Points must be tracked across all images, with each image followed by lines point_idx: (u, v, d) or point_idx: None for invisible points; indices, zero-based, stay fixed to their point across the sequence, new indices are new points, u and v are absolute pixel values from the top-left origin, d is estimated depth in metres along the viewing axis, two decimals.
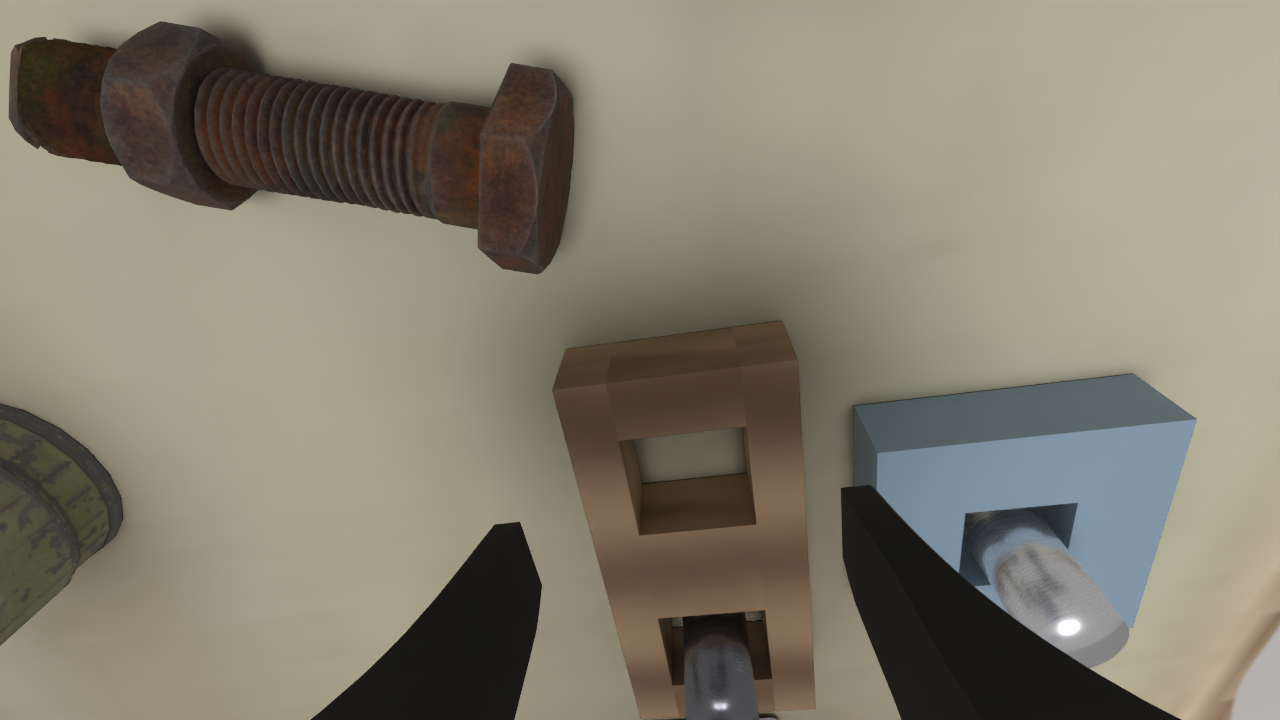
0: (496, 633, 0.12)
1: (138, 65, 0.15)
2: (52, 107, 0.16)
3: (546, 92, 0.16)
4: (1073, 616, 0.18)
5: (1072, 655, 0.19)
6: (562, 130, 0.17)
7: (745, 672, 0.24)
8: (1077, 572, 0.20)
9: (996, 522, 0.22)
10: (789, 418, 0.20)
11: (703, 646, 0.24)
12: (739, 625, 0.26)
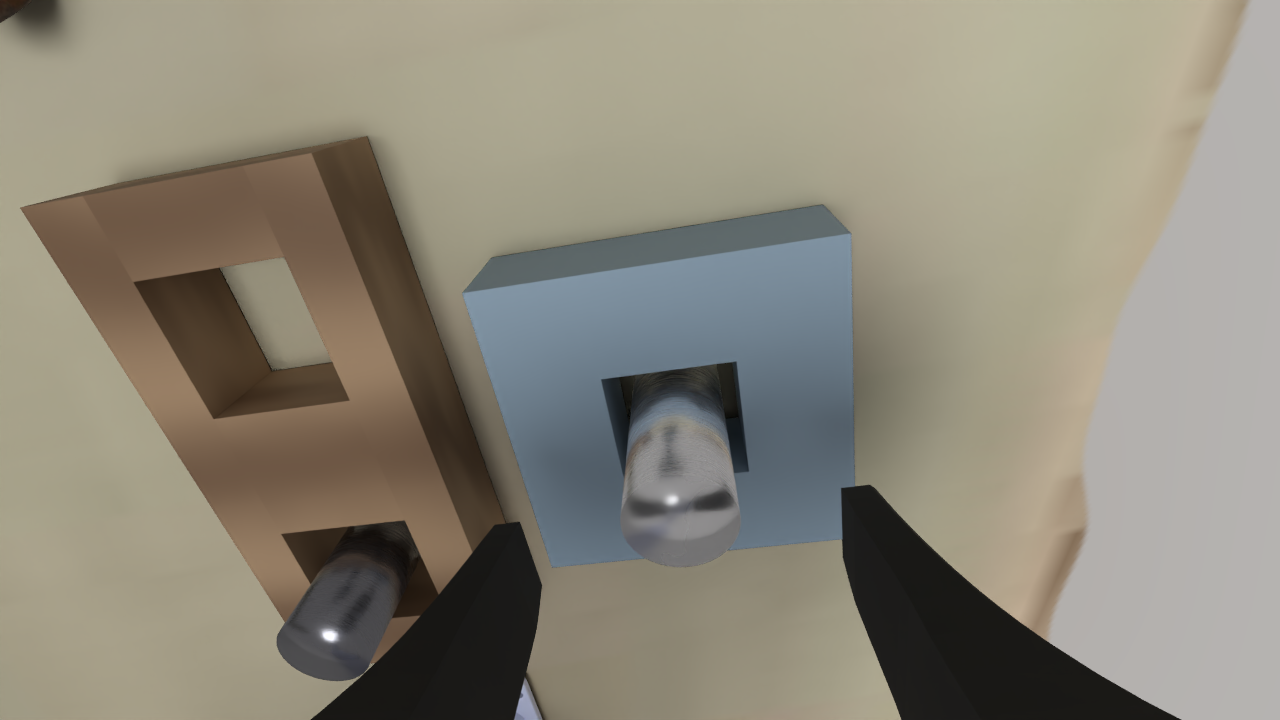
0: (496, 633, 0.12)
1: None
2: None
3: None
4: (656, 485, 0.14)
5: (679, 543, 0.14)
6: None
7: (365, 594, 0.19)
8: (697, 437, 0.15)
9: (647, 393, 0.17)
10: (334, 244, 0.15)
11: (328, 565, 0.20)
12: (392, 544, 0.21)
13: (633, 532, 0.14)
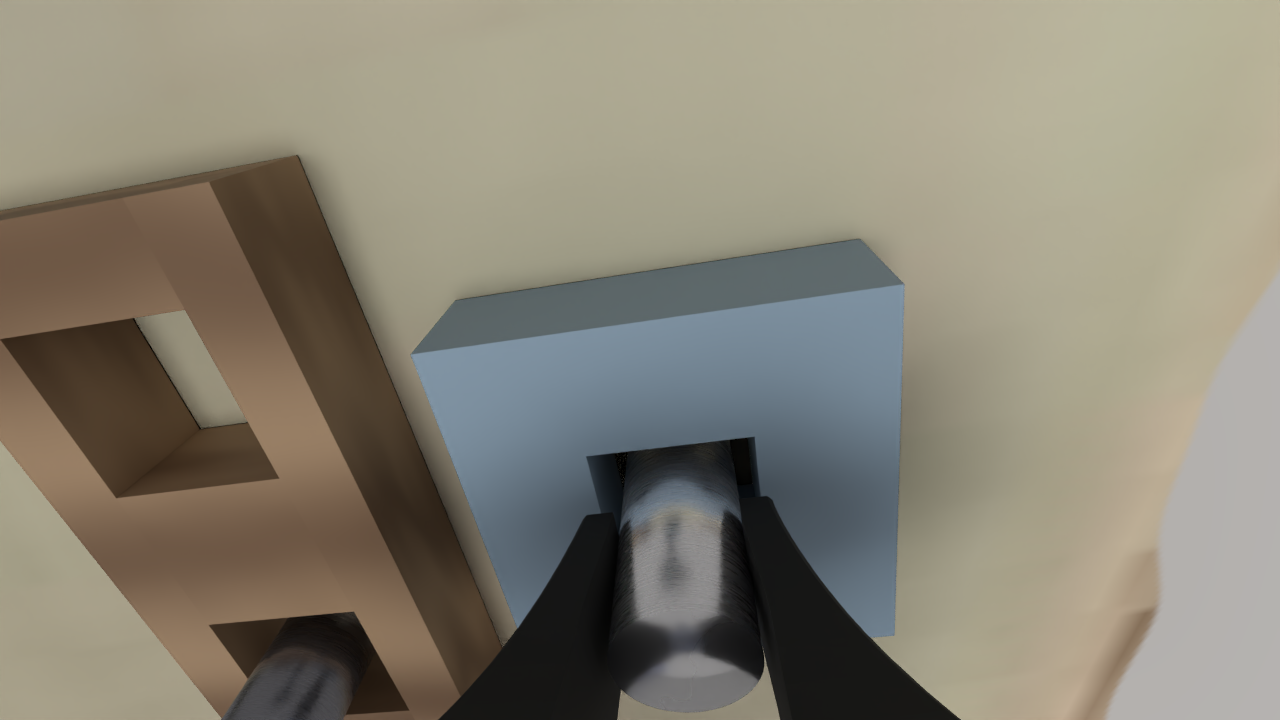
0: (603, 624, 0.11)
1: None
2: None
3: None
4: (652, 621, 0.10)
5: (684, 686, 0.11)
6: None
7: (304, 705, 0.16)
8: (707, 544, 0.12)
9: (643, 471, 0.14)
10: (246, 295, 0.12)
11: (262, 666, 0.16)
12: (343, 634, 0.18)
13: (624, 674, 0.11)
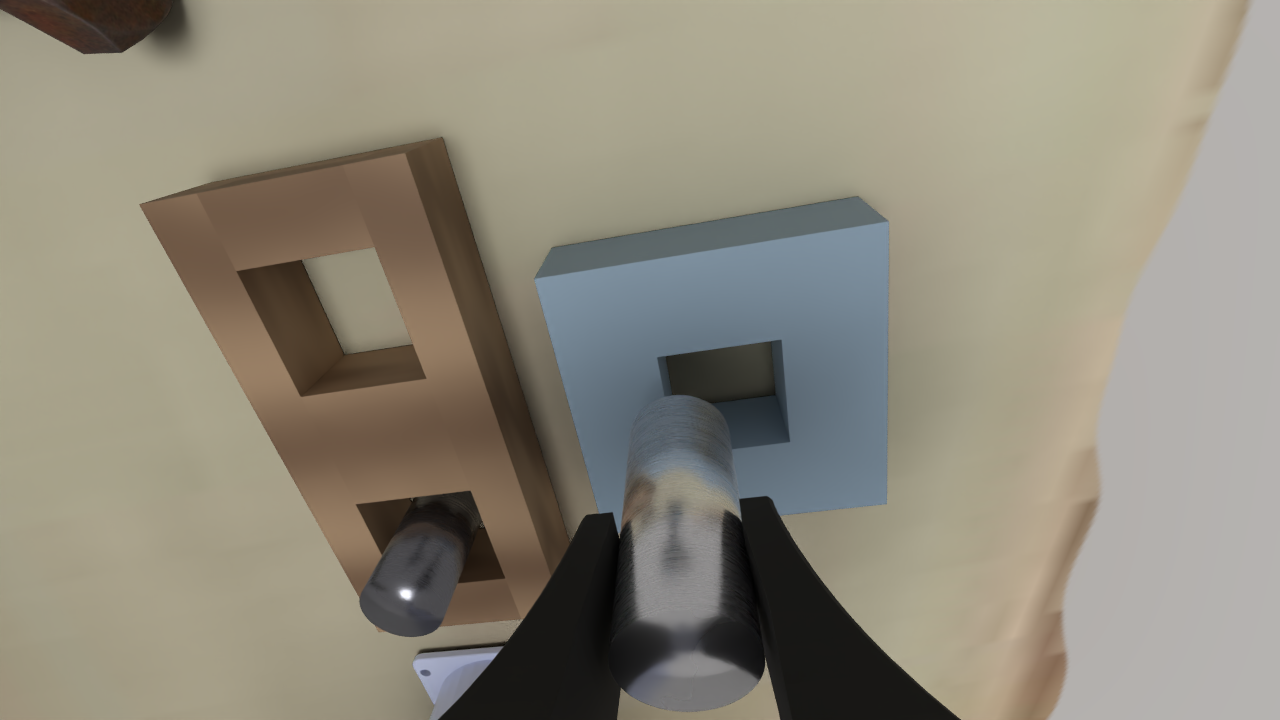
0: (603, 624, 0.11)
1: None
2: None
3: None
4: (654, 620, 0.10)
5: (685, 686, 0.11)
6: None
7: (437, 557, 0.21)
8: (707, 544, 0.12)
9: (643, 471, 0.14)
10: (420, 235, 0.17)
11: (401, 532, 0.21)
12: (456, 514, 0.23)
13: (625, 673, 0.11)
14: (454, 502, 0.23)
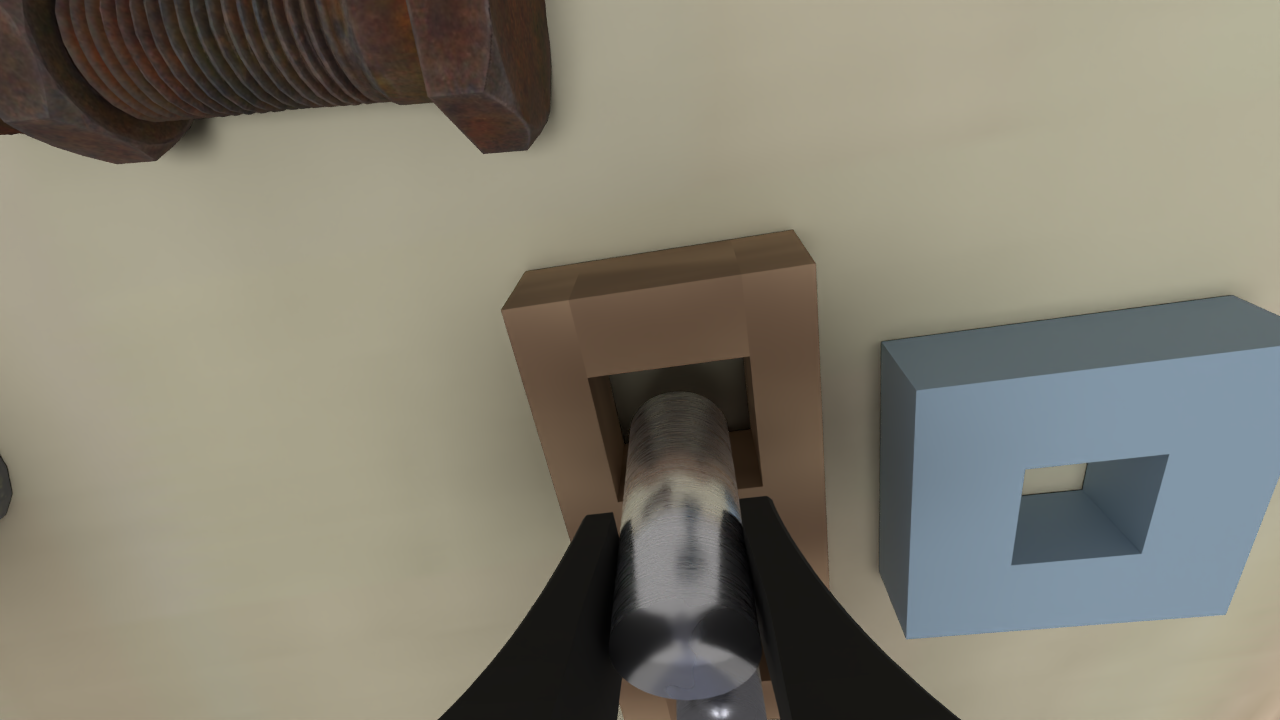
0: (603, 624, 0.11)
1: None
2: None
3: None
4: (647, 611, 0.11)
5: (687, 674, 0.11)
6: None
7: None
8: (700, 534, 0.12)
9: (640, 468, 0.14)
10: (804, 345, 0.16)
11: None
12: None
13: (627, 665, 0.11)
14: None
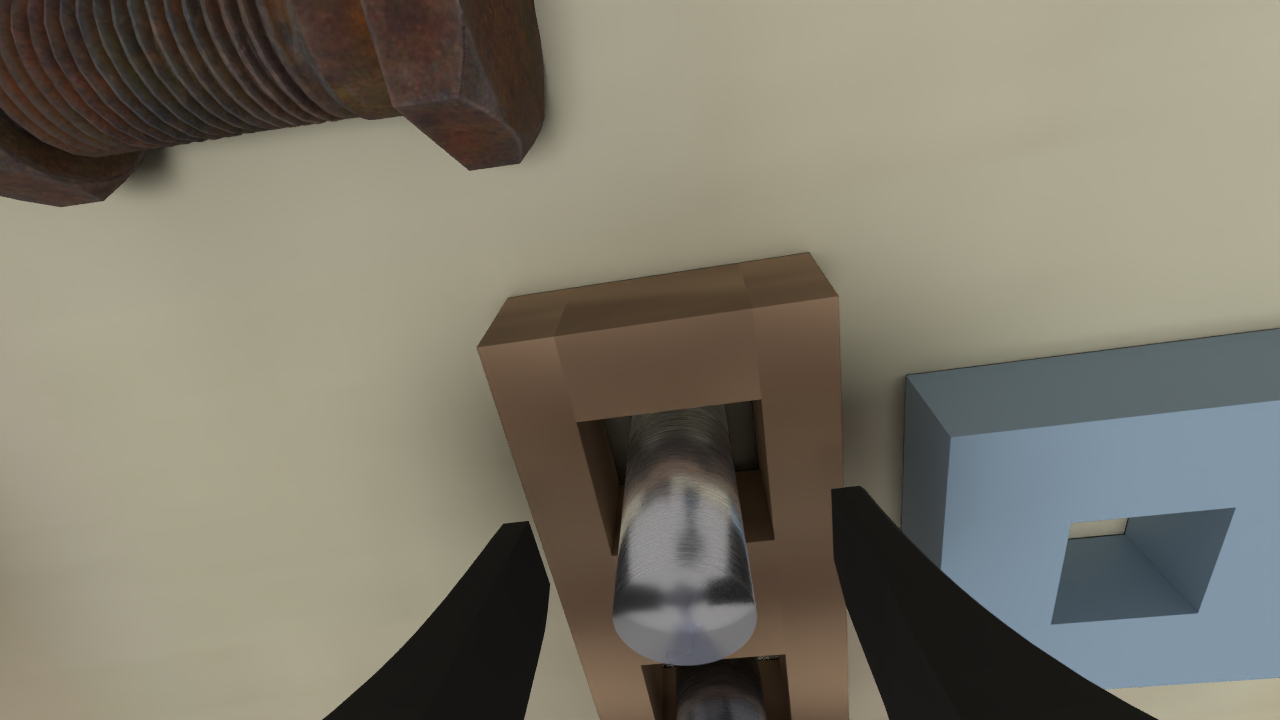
0: (507, 632, 0.12)
1: None
2: None
3: None
4: (649, 578, 0.11)
5: (686, 640, 0.12)
6: None
7: None
8: (699, 509, 0.12)
9: (641, 449, 0.15)
10: (824, 387, 0.14)
11: (702, 703, 0.18)
12: (750, 672, 0.19)
13: (629, 631, 0.12)
14: None
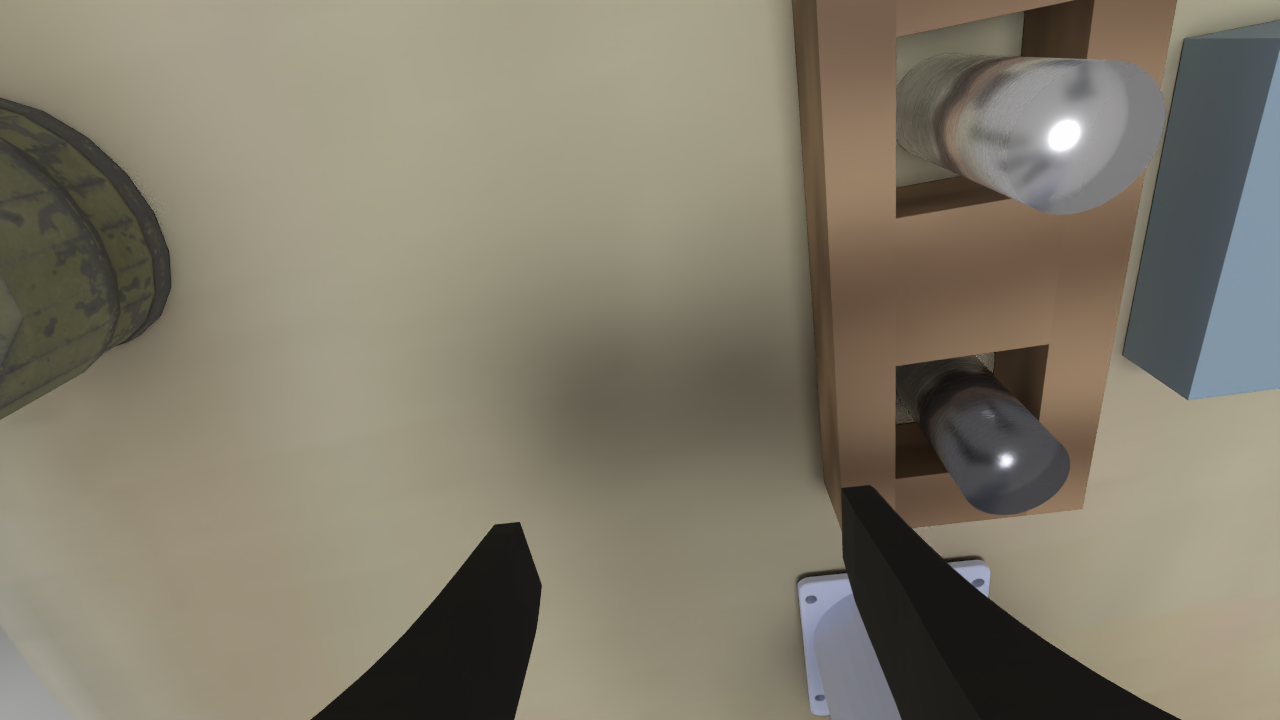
0: (496, 633, 0.12)
1: None
2: None
3: None
4: (1065, 81, 0.11)
5: (1076, 176, 0.12)
6: None
7: None
8: (1073, 59, 0.12)
9: (952, 75, 0.15)
10: None
11: (965, 395, 0.18)
12: (998, 381, 0.19)
13: (1021, 164, 0.12)
14: (986, 369, 0.19)
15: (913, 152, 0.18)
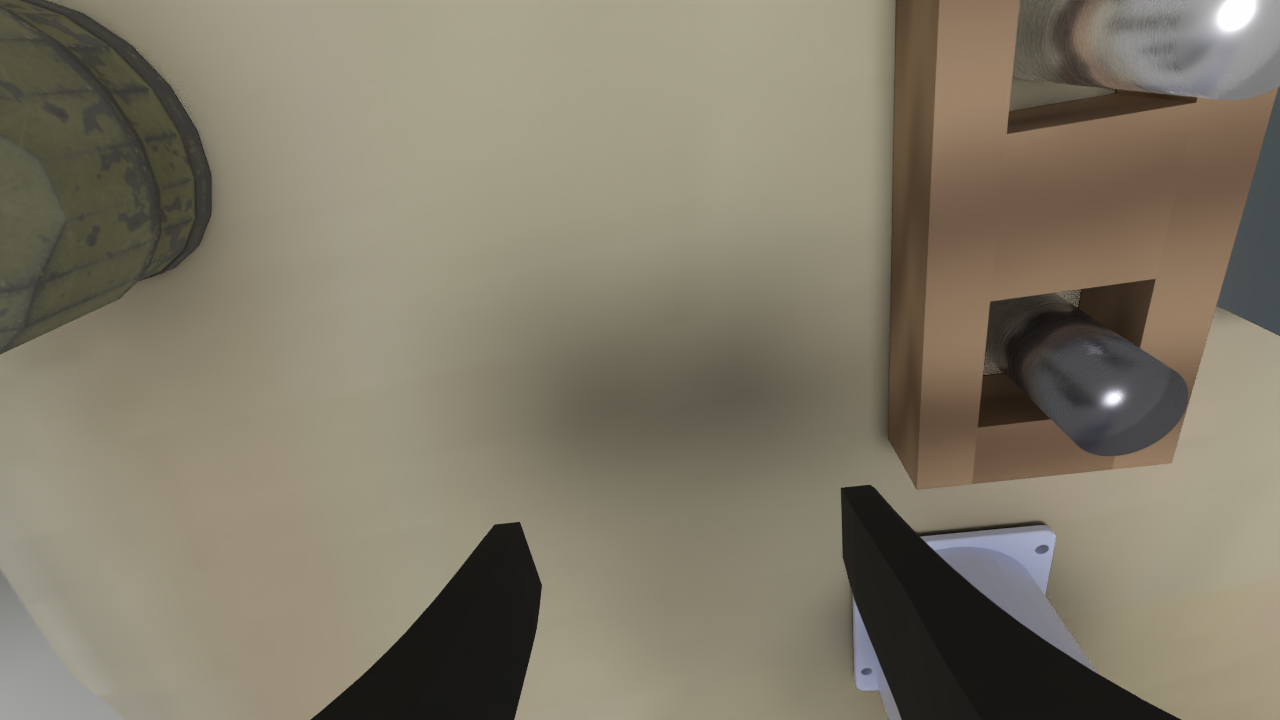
0: (496, 633, 0.12)
1: None
2: None
3: None
4: None
5: (1251, 55, 0.11)
6: None
7: (1146, 353, 0.16)
8: None
9: None
10: None
11: (1066, 332, 0.17)
12: None
13: (1193, 39, 0.11)
14: (1081, 310, 0.18)
15: (1017, 71, 0.17)
